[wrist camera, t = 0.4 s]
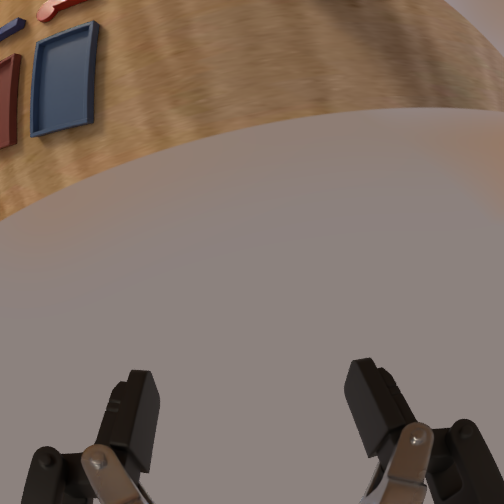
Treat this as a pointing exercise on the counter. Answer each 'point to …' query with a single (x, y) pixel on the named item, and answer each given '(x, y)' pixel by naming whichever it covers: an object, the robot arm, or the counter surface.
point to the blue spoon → (11, 28)
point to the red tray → (9, 99)
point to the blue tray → (64, 80)
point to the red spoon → (54, 8)
